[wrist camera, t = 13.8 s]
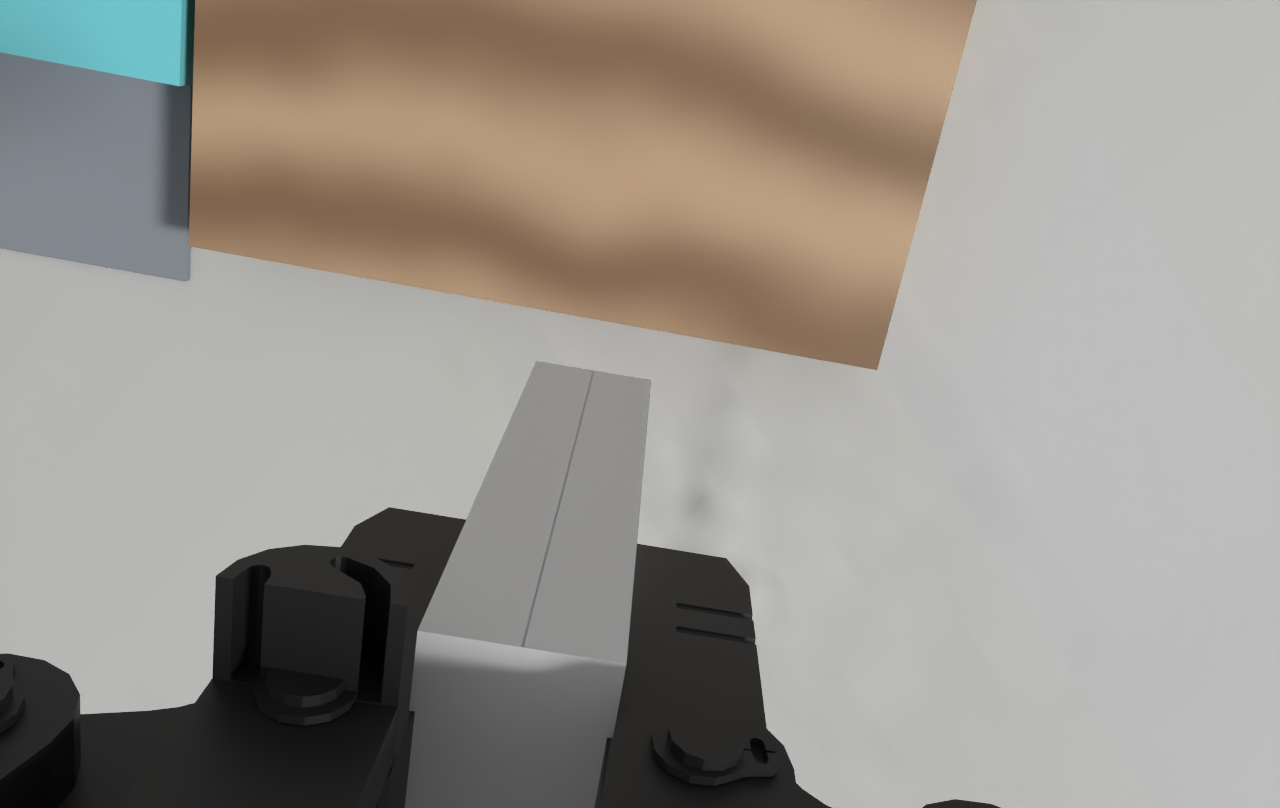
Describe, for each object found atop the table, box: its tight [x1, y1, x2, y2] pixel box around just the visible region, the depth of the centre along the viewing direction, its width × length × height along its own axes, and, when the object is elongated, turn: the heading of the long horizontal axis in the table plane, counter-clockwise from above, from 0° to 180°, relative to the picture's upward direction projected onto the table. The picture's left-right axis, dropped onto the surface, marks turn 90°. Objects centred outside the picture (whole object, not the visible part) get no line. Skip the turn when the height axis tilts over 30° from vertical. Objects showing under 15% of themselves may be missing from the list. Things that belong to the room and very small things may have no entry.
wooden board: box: [189, 0, 977, 370], centre depth 35 cm, size 16×24×2 cm, turn 80°
